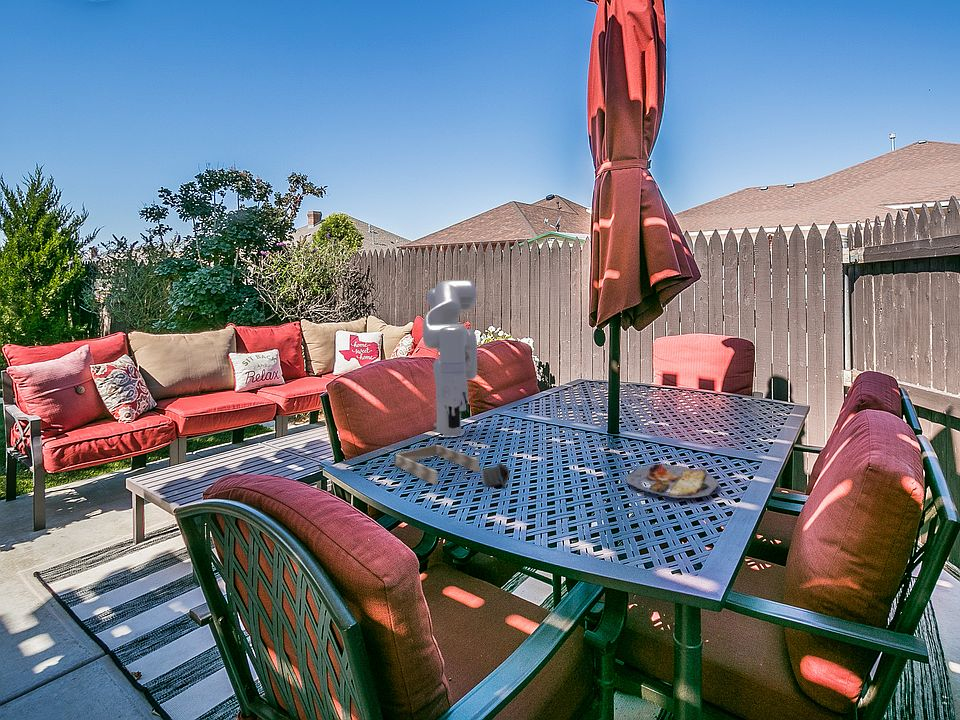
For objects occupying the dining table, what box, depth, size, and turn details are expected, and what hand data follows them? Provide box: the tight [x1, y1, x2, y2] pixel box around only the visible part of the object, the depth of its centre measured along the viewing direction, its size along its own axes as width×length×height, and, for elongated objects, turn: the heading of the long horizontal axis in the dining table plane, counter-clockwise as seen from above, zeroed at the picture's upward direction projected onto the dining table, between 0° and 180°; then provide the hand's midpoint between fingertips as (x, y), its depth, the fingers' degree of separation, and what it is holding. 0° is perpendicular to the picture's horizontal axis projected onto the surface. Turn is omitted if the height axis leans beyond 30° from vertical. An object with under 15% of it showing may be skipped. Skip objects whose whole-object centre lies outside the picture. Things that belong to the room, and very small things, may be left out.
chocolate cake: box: [480, 461, 510, 488], centre depth 151 cm, size 10×7×12 cm
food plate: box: [625, 462, 720, 500], centre depth 145 cm, size 25×23×4 cm
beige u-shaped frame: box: [393, 444, 480, 486], centre depth 164 cm, size 23×17×4 cm
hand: (454, 427), depth 155 cm, fingers closed
